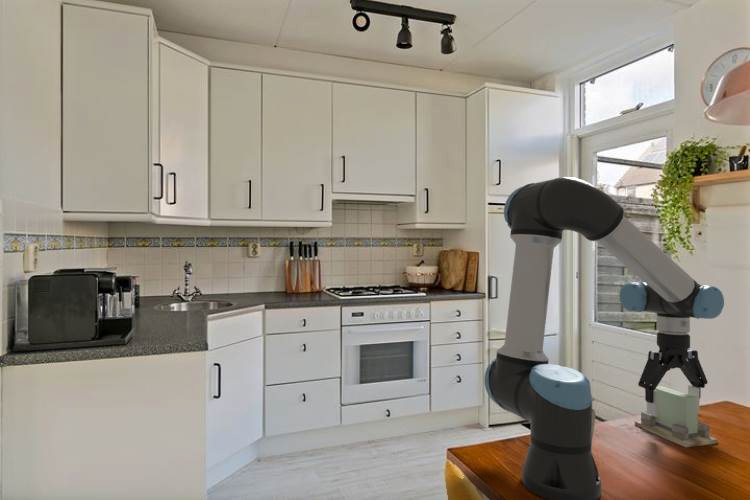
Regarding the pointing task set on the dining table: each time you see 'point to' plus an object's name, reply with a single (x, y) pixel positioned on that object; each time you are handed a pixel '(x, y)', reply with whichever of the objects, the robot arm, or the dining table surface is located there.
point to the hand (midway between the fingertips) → (673, 413)
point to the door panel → (676, 410)
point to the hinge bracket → (677, 432)
